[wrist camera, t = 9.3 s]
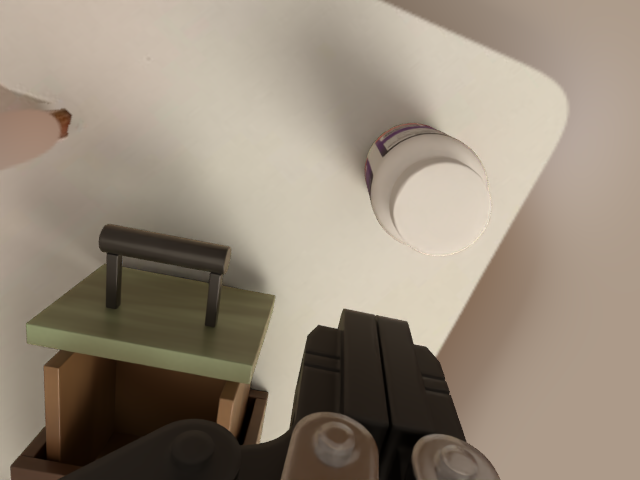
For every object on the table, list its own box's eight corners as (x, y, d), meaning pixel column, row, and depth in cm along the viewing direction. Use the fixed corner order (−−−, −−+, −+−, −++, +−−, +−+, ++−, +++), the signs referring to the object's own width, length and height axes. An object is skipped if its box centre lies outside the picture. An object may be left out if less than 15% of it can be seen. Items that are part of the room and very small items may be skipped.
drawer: (105, 193, 28) (20, 233, 21) (286, 227, 28) (266, 279, 21) (101, 424, 34) (34, 519, 27) (249, 451, 34) (223, 553, 27)
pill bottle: (427, 223, 28) (466, 291, 19) (349, 189, 28) (352, 242, 19) (470, 144, 27) (537, 177, 17) (389, 106, 26) (413, 120, 17)
